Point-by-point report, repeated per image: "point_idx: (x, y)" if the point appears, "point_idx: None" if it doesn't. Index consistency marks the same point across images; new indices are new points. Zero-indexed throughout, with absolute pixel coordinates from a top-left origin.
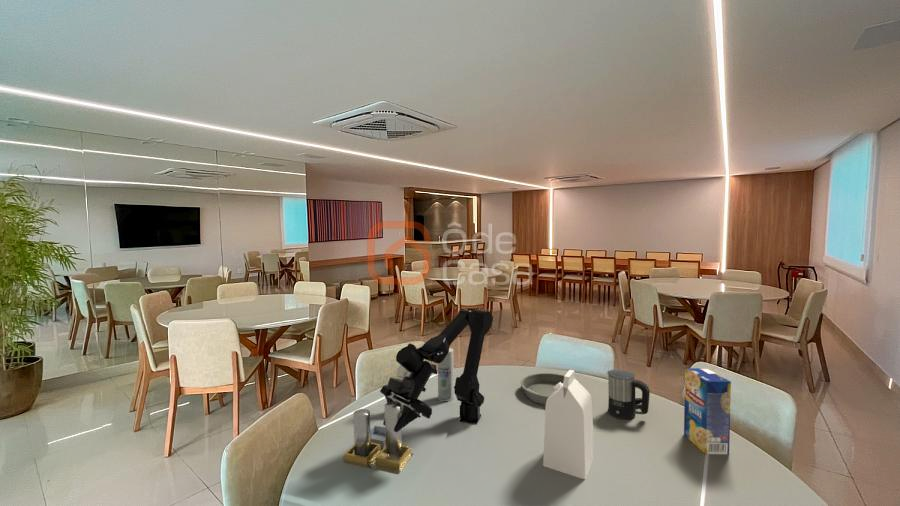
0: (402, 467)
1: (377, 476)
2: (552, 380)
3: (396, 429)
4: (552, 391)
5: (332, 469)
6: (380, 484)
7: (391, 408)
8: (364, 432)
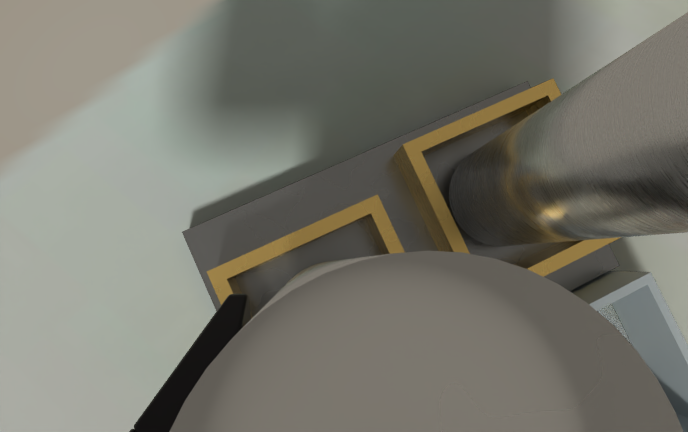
0: (213, 291)
1: (291, 162)
2: None
3: (216, 317)
4: None
5: (522, 37)
6: (222, 133)
7: (279, 359)
8: (544, 127)
